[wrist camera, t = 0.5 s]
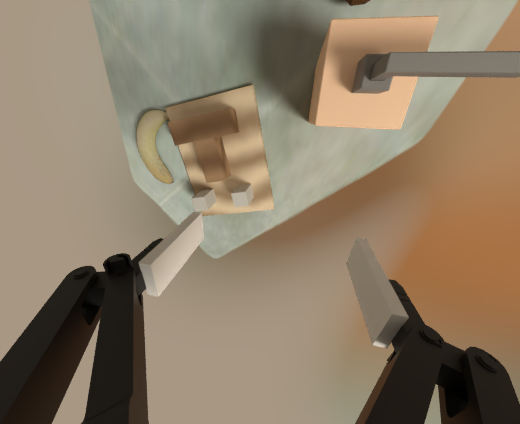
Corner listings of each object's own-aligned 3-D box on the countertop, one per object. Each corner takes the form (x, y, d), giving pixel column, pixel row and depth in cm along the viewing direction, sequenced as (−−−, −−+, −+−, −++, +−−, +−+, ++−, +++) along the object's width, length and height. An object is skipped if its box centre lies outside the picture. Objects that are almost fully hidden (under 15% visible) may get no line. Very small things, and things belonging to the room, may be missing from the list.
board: (168, 108, 38) (165, 107, 37) (253, 85, 34) (252, 84, 33) (204, 214, 48) (202, 216, 47) (274, 207, 43) (273, 209, 43)
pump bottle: (308, 122, 35) (319, 127, 15) (316, 64, 31) (345, -26, 12) (382, 126, 33) (503, 136, 14) (401, 64, 29) (605, -43, 10)
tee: (179, 122, 38) (167, 122, 34) (235, 109, 35) (228, 108, 32) (198, 179, 43) (189, 185, 39) (248, 172, 40) (243, 177, 36)
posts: (201, 190, 44) (190, 198, 39) (251, 183, 41) (245, 191, 37) (205, 202, 45) (195, 211, 41) (253, 196, 42) (248, 205, 38)
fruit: (150, 176, 46) (140, 180, 44) (139, 107, 39) (127, 106, 37) (177, 182, 46) (169, 186, 43) (171, 112, 39) (161, 111, 36)
